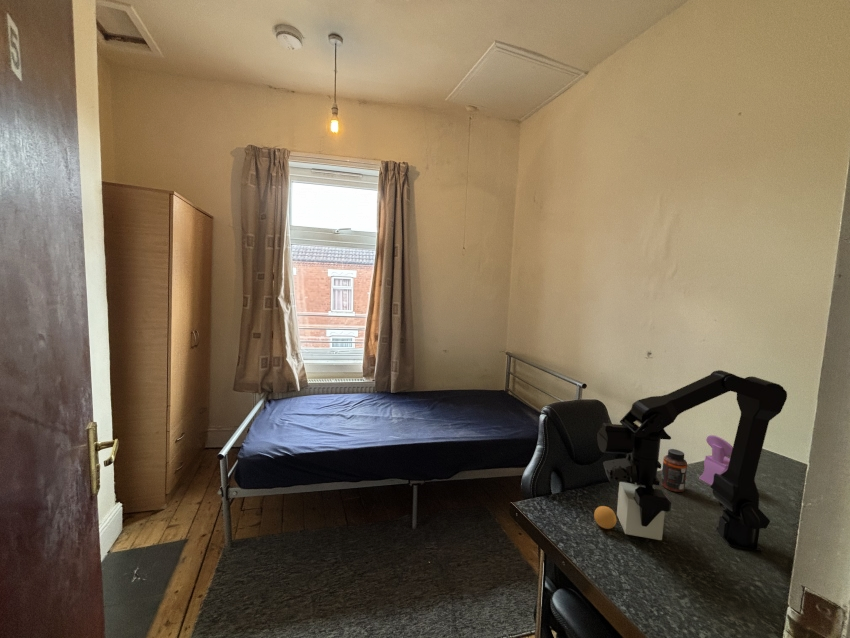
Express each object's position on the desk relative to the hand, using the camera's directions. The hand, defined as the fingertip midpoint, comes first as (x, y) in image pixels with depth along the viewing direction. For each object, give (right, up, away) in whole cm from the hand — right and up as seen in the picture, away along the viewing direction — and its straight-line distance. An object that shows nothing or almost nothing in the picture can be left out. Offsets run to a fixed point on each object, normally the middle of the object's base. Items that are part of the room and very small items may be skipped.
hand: (638, 515), depth 89 cm
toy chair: (+40, -4, +25) cm, 48 cm away
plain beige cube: (0, -3, 0) cm, 3 cm away
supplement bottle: (+23, -3, +21) cm, 31 cm away
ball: (-7, -2, +2) cm, 8 cm away
